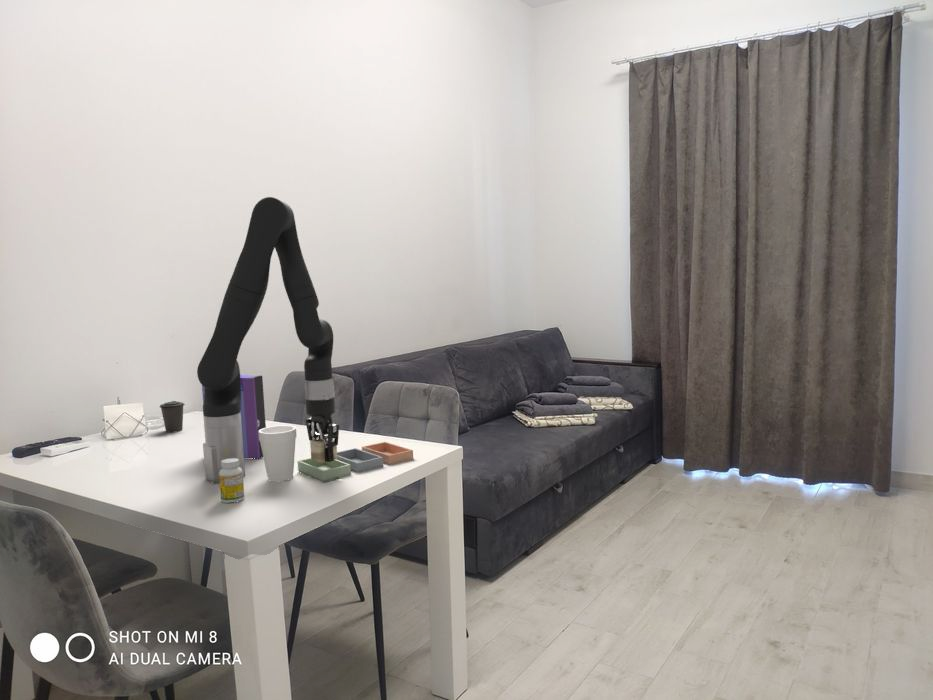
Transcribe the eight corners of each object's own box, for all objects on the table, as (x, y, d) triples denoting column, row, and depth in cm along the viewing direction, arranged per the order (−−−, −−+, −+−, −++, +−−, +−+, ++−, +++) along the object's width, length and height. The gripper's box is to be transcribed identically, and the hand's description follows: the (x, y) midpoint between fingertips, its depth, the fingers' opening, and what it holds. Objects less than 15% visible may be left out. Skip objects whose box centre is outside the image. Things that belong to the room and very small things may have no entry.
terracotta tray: (389, 466, 191) (389, 455, 190) (362, 457, 201) (361, 446, 201) (413, 460, 196) (412, 450, 195) (385, 451, 206) (385, 441, 206)
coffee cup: (182, 426, 251) (180, 399, 250) (189, 430, 244) (187, 402, 243) (158, 430, 246) (156, 402, 244) (165, 434, 239) (163, 405, 238)
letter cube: (320, 463, 182) (319, 443, 181) (311, 459, 186) (310, 440, 185) (337, 459, 185) (336, 439, 185) (328, 455, 189) (326, 436, 188)
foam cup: (296, 471, 189) (293, 423, 188) (301, 480, 181) (298, 430, 179) (260, 476, 186) (256, 427, 184) (263, 485, 177) (260, 435, 176)
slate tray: (357, 474, 184) (357, 463, 184) (331, 464, 195) (330, 453, 195) (383, 468, 189) (382, 457, 189) (356, 458, 200) (355, 448, 200)
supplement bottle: (243, 502, 165) (240, 462, 164) (219, 504, 164) (216, 464, 163) (245, 495, 170) (243, 456, 169) (222, 497, 169) (219, 458, 168)
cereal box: (207, 456, 208) (201, 376, 205) (217, 452, 212) (211, 374, 210) (258, 459, 203) (252, 377, 200) (267, 455, 207) (262, 374, 204)
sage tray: (323, 482, 178) (323, 471, 177) (298, 471, 188) (297, 460, 188) (351, 475, 183) (350, 464, 183) (324, 465, 194) (324, 455, 193)
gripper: (294, 395, 186) (298, 457, 188) (320, 401, 176) (325, 467, 178) (319, 391, 191) (323, 452, 193) (346, 397, 180) (350, 461, 182)
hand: (324, 459), depth 185 cm, fingers closed on letter cube, 5 cm apart
